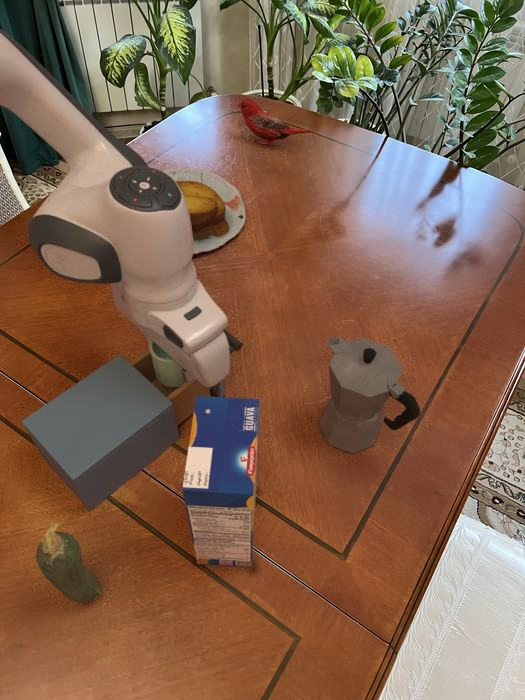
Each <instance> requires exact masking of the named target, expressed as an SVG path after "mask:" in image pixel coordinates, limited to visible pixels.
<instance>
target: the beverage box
mask: <svg viewBox="0 0 525 700" xmlns="http://www.w3.org/2000/svg"><path fill="white" fill-rule="evenodd" d="M191 422H192V423H191V428H190V435H189V442H188V449H187V454H186V463H185V469H184V475H183V476H184V477H183V484H182V490H181V491H182V495H183V500H184V505H185V510H186V515H187V520H188V525H189V529H190V535H191V541H192V545H193V550H194V555H195V560H196V564H197V565H206V566H207V565H208V566H224V567H237V568H238V567H239V568H252V564H253V548H254V547H253V546H254V533H255V531H254V530H255V516H256V515H255V513H256V499H257V498H256V497H257V482H258V481H257V480H258V451H259V450H258V449H259V427H260V425H259V423H260V398H244V397H229V396H227V397H226V396H222V397H219V396H211V395H210V396H196V401H195V407H194V413H193V414H192V421H191Z"/></svg>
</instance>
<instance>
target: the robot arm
mask: <svg viewBox="0 0 525 700" xmlns="http://www.w3.org/2000/svg"><path fill="white" fill-rule="evenodd" d="M0 107H3V108H6V109H7V110H9V111H10V112H12V113H13V114H14V115H16V116H17V117H18V118H19V119H20V120H21V121H23V122H24V123H25V124H26V125H27V126H28V127H29V128H30V129H31V130H32V131H33V132H35V133H36V134H37V135H38V136H39V137H40V138H41V139H43V140H44V141H45V142H46V143H47V144H48V145H49V146H50V147H51V148H52V149H53V150H54V151H56V152H57V153H58V154H59V155H60V156H61V157H62V158H63V160H64V162H65V163H66V165H67V171H68V172H67V173H66V175H65V176H64V177H63V178H62V180H61V181H60V182H59V184H57V186H56V188H55V189H54V190H52V191H51V192H50V193H49V195H48V196H47V197H46V199H45V200H44V201H43V202H42V203H41V205H40V206H39V207H38V209H37V210H36V212H35V213H34V214H33V216H32V218H30V221H28V225H27V234H28V239H29V242H30V246H31V247H32V249H33V251H34V252H35V254H36V256H37V258H38V259H39V260H40V261H41V263H42V264H43V265H44V266H45V267H46V268H47V269H48V270H49V271H50V272H51V273H52V274H54V275H55V276H57V277H59V278H61V279H63V280H67V281H71V282H74V283H82V284H101V285H102V284H103V285H107V284H108V285H110V288H111V289H110V290H111V295H112V301H113V304H114V306H115V308H116V309H117V310H118V312H119V313H120V314H121V315H122V316H123V317H124V318H126V319H127V321H129V322H130V323H131V324H133V325H134V326H135V327H136V328H137V329H138V330H140V332H141V333H142V334H143V337H144V338H145V340H146V341H147V345H148V346H149V345H150V341H151V340H152V341H153V342H155V343H156V344H157V345H158V346H159V347H160V348H161V349H163V350H164V351H165V352H166V353H167V354H168V355H169V356H171V357H172V358H173V359H174V360H175V361H176V362H177V363H179V364H180V365H181V366H182V367H183V369H181V373H182V374H181V375H182V376H183V377H184V378H185V379H186V380H187V381H188V382H191V381H192V380H194V379H195V378H196V379H197V380H198V381H199V382H200V383H201V384H202V385H203V386H205V387H206V388H210V387H213V386H215V385H216V384H218V383H219V382H220V381H222V380H223V379H224V378H225V379H226V378H227V376H228V375H229V373H230V371H231V354H230V352H229V348H230V346H229V344H228V340H227V337H226V335H225V333H224V332H223V330H224V329H225V330H226V328H228V324H229V320H228V317H227V315H226V313H225V312H224V311H223V310H222V309H221V308H220V306H219V305H217V303H216V302H215V301H214V300H213V298H212V297H211V296H210V294H209V293H208V291H207V290H206V288H205V287H204V285H203V283H202V282H201V280H200V279H198V274H197V269H196V265H195V263H194V262H193V256H194V254H193V253H194V242H193V233H192V226H191V221H190V215H189V211H188V207H187V203H186V200H185V197H184V195H183V193H182V191H181V189H180V188H179V186H178V184H177V183H176V182H175V181H174V180H173V179H172V178H171V177H170V176H169V175H167V174H166V173H164V172H162V171H161V170H160V169H157V168H154V167H149V165H148V163H147V162H146V161H145V159H144V158H143V157H142V156H141V155H140V154H139V153H138V152H137V151H136V150H134V149H133V148H132V147H130V146H129V145H128V144H126V143H125V142H124V141H122V140H120V139H119V138H117V136H115V135H114V134H113V133H111V132H110V131H109V130H108V129H107V128H106V127H105V126H103V125H102V124H101V123H100V122H99V120H97V119H96V118H95V117H94V116H93V115H92V114H91V113H90V112H89V111H88V110H87V109H86V108H85V107H84V106H83V105H82V104H81V103H80V102H79V101H78V99H76V98H75V97H74V96H73V95H72V94H71V92H69V90H67V89H66V88H65V87H64V86H63V84H61V82H59V81H58V79H56V78H55V76H53V74H51V73H50V72H49V71H48V70H47V68H45V67H44V66H43V65H42V64H41V63H40V62H39V61H38V60H37V58H35V57H34V56H33V55H32V54H31V53H30V52H29V51H28V50H27V48H24V47H23V46H22V45H21V44H20V43H19V42H18V41H17V40H16V39H14V38H13V37H12V35H11V36H10V34H8V33H7V32H5V31H4V30H3V29H1V28H0Z"/></svg>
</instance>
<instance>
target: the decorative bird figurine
mask: <svg viewBox="0 0 525 700" xmlns="http://www.w3.org/2000/svg"><path fill="white" fill-rule="evenodd" d="M236 106H237V107H239V109H240V111H241V114H242V116H243V119H244V122H245V124H246V126H247V128H248V129H249V131H250V132H251V133H253V134H254V135H255V136H256V137H257V138H259V139H262V140H256V139H253V141H254V142H256V143H258V144H259V145H262V146H263V145H264V146H269V147H275V145H274V144H273V143H272V142H273V141H278V140H284V139H287V138H288V137H290V136H293V135H297V134H305V133H307V134H308V133H311V132H312V130H310V129H301V128H292V127H290V126H289V125H288V124H286V123H285V122H283V121H282V120H280V119H278V118H277V117H275V116H273V115H272V114H269V113H268V112H266V111H265V110H264V109H262V108H261V107H260V106H259V105H258V104H257V102H256V101H254V100H252V99H251V98H248V97H245V98H243V99H242V100H241V101H240V103H238V104H237V105H236ZM264 140H265V141H264Z"/></svg>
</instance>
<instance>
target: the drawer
mask: <svg viewBox="0 0 525 700" xmlns="http://www.w3.org/2000/svg"><path fill="white" fill-rule="evenodd" d="M223 332H224V333H225V335H226V337H227V340H228V344H229V352H230V355H231V354H232V353H234V351H235V352H239V351H240V350H241V349H242V348H243V345H244V343H243V342H242V341H240V340H239V339H238V338H237V337H235V336H234V335H233V334H231V333H230V332H229V331H227V330H226V328H225V329H224V330H223ZM128 362H129V363H130V364H131V365H132V366H133V367H134V368H135V369H136V370H138V371H139V372H140V373H141V374H142V375H143V376H144V377H145V378H146V379H147V380H148V381H149V382H151V383H152V384H153V385H154V386H155V387H156V388H157V389H158V390H159V391H160V392H161V393H162V394H164V395H165V396H166V397H167V398H168V399H169V400H170V401H171V402H172V403H173V406H174V411H175V417H176V422H177V427H178V426H179V425H180V424H182V423H183V422H185V420H187V419H188V418H189V417H190V416H193V414H194V407H195V401H196V396H211V391H212V392H213V393H214V394H216V396H217V397H224V396H225V395H226V394H227V388H226V387H227V385H226V383H227V382H226V377H225V378H224V379H223V380H222V381H220V382H219V383H218V384H216V385H215V386H213V387H210V388H206V387H205V386H203V385H202V384H201V383H200V382H199V381H198V380H197V379H196V378H195V379H194V380H192V381H191V382H188V381H187V382H185V383H184V384H183V385H181V386H179V387H168V386H165V385H163V384H161V383H160V382H159V381H158V380H157V378H156V376H155V373H154V368H153V364H152V359H151V354H150V350H149V348H147V349H145V351H143V352H142V353H140V354H139V355H137V356H136V357H135V358H133V359H132V360H130V361H128Z"/></svg>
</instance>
